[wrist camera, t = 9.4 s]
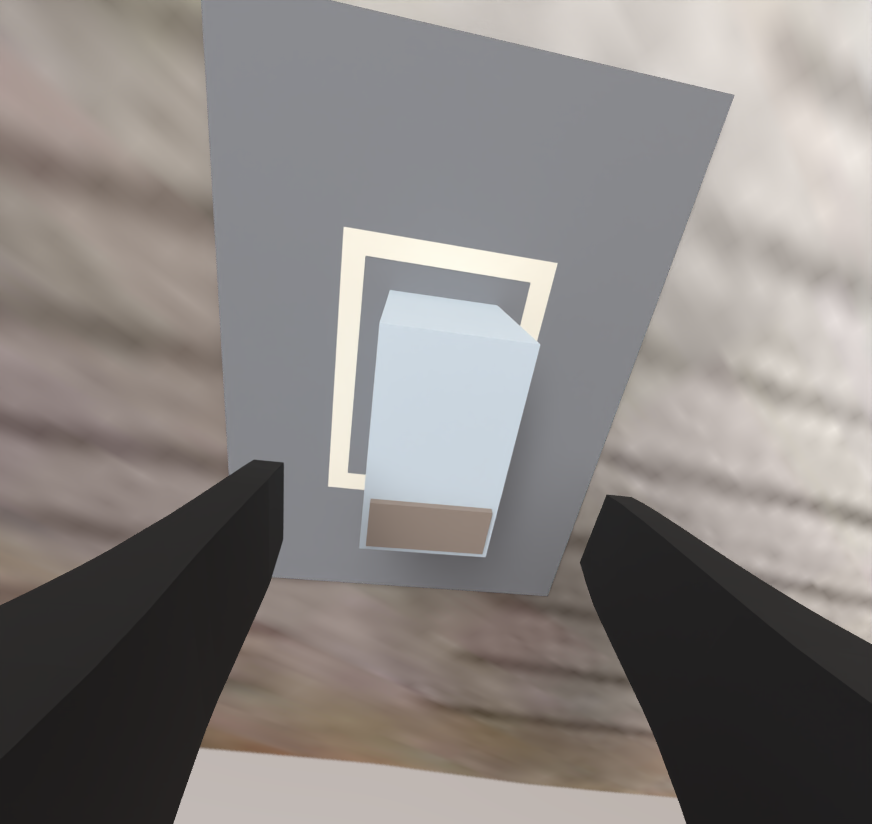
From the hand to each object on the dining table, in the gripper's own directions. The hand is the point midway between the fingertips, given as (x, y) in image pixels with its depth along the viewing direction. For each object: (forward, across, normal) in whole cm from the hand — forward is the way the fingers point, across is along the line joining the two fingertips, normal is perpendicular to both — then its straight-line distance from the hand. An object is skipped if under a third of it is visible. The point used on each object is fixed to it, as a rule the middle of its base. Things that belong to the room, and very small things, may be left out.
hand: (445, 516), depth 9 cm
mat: (+8, 0, 0) cm, 8 cm away
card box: (+8, 0, 0) cm, 8 cm away
